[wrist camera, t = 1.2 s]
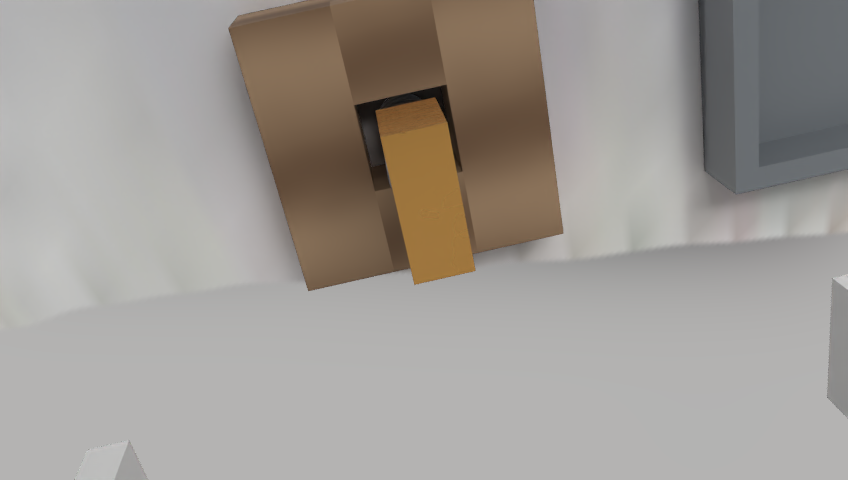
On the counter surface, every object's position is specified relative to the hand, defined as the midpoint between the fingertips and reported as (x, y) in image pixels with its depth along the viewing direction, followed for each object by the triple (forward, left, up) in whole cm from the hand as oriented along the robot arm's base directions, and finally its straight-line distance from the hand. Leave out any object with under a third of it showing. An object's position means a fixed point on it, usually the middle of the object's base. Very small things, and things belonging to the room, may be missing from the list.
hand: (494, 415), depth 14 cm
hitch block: (0, 0, -20) cm, 20 cm away
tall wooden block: (0, 0, -20) cm, 20 cm away
